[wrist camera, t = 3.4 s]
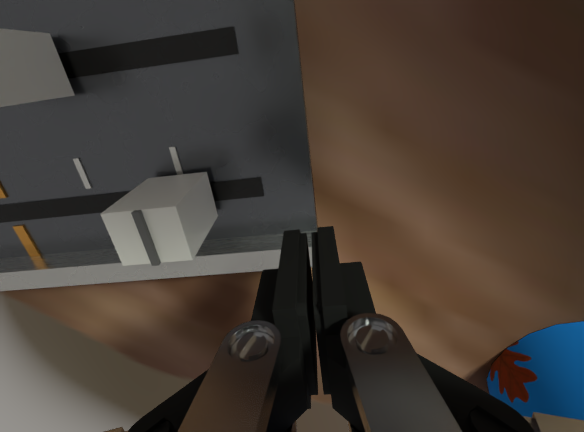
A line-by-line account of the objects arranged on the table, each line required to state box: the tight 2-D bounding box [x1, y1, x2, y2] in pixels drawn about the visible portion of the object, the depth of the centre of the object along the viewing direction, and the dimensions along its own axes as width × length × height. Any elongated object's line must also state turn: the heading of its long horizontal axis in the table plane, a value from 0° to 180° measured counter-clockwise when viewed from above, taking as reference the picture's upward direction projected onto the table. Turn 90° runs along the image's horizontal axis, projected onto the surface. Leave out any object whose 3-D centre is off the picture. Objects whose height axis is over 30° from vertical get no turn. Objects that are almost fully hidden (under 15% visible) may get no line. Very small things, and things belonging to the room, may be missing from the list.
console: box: [0, 0, 318, 291], centre depth 16 cm, size 22×14×4 cm, turn 97°
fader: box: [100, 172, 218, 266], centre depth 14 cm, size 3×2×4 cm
